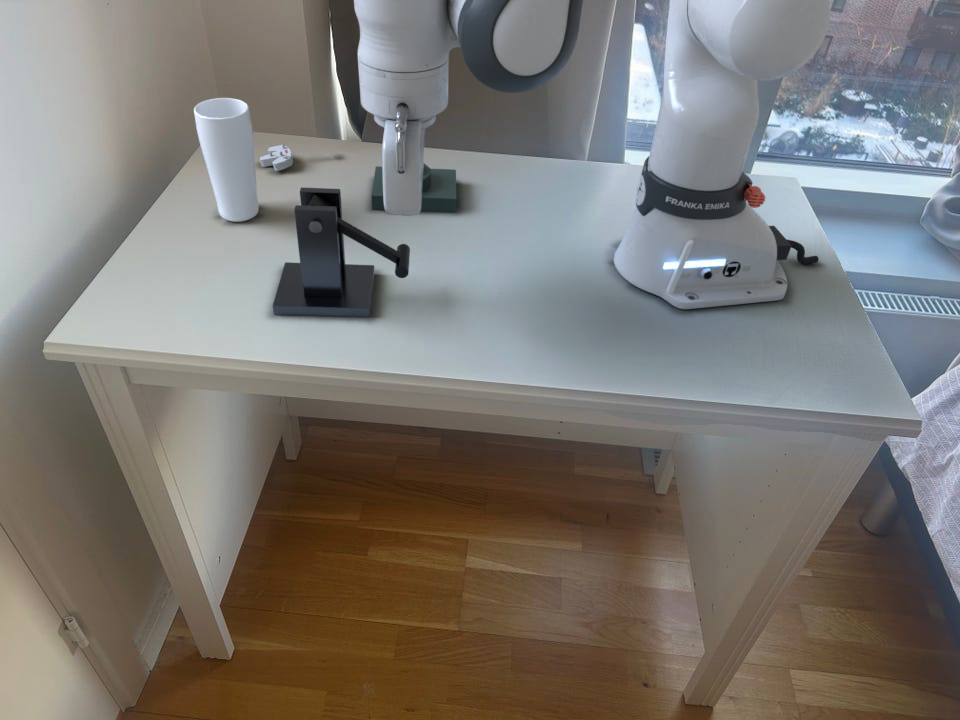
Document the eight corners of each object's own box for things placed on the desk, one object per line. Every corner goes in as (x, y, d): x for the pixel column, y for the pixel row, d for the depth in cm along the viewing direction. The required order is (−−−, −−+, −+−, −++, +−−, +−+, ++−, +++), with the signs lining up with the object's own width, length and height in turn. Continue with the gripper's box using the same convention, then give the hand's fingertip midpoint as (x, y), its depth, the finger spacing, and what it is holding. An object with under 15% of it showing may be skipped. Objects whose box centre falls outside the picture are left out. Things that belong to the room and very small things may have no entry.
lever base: (374, 273, 94) (371, 181, 85) (369, 317, 87) (364, 221, 78) (286, 270, 93) (273, 177, 84) (273, 314, 86) (259, 217, 78)
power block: (455, 182, 113) (456, 158, 111) (455, 212, 106) (457, 187, 104) (376, 179, 112) (375, 154, 110) (371, 209, 106) (370, 184, 103)
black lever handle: (403, 259, 90) (414, 245, 89) (401, 282, 86) (413, 268, 85) (305, 203, 85) (315, 188, 83) (299, 226, 81) (309, 210, 80)
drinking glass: (252, 229, 100) (234, 122, 90) (204, 221, 100) (182, 114, 90) (272, 205, 105) (258, 101, 95) (227, 198, 105) (208, 94, 96)
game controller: (254, 161, 114) (252, 144, 113) (320, 144, 120) (319, 129, 119) (271, 175, 111) (269, 159, 109) (338, 158, 117) (337, 142, 115)
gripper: (434, 131, 66) (434, 261, 75) (436, 52, 82) (436, 168, 91) (363, 129, 66) (372, 260, 75) (379, 50, 81) (384, 167, 90)
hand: (407, 209), depth 83 cm, fingers closed
